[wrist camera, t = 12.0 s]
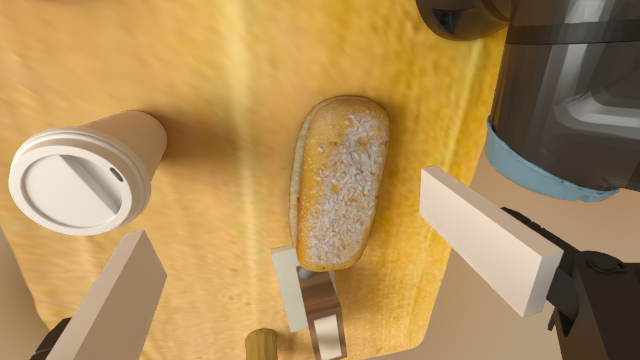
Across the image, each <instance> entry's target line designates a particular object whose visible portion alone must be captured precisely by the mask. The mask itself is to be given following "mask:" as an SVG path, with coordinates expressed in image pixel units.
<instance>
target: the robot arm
mask: <svg viewBox="0 0 640 360" xmlns="http://www.w3.org/2000/svg"><path fill="white" fill-rule="evenodd" d="M416 3H417V7H418V10H419V12H420V15H421V17H422V19H423V20H424V22H425V23H426V25H427V26H428V27H429V28H430V29H431V30H432V31H433V32H434V33H435V34H437V35H438V36H440V37H442V38H444V39H448V40H454V41H469V40H475V39H479V38H483V37H485V36H487V35H490V34H492V33H494V32H496V31H498V30H500V29H502V28H504V27H506V26H508V25H509V27H508V32H507V37H506V42H505V45H504V50H503V55H502V60H501V65H500V70H499V75H498V80H497V85H496V89H495V94H494V99H493V104H492V109H491V114H490V115H489V116H488V119H487V127H488V130H487V138H486V145H485V153H486V157H487V159H488V161H489V162H490V164H491V165H492V166H493V167H494V168H495V169H496V171H497V172H499V173H500V174H501V175H502V176H504V177H505V178H507V179H508V180H510V181H512V182H513V183H515V184H517V185H519V186H521V187H524V188H526V189H528V190H531V191H534V192H536V193H539V194H542V195H546V196H549V197H552V198H557V199H562V200H568V201H576V200H577V199H579V200H581V201H584V202H599V201H603V200H606V199H608V198H610V197H611V196H612V195H614V194H616V193H617V192H618V191H619V190H620V188H625V189H629V190H634V191H638V192H640V0H416ZM419 214H420V215H421V216H422V217H423V218H424V219H425V220H426V221H427V222H428V223H429V224H430V225H431V226H432V227H433V228H434V229H435V230H436V231H437V232H438V233H439V234H440V235H441V236H442V237H443V238H444V239H445V240H446V241H447V242H448V243H449V244H450V245H451V246H452V247H453V249H454V250H455V251H456V252H458V254H459V255H460V256H462V257H463V259H465V261H466V262H467V263H468V264H469V265H471V267H472V268H473V269H474V270H475V271H476V272H477V273H478V274H479V275H480V276H481V277H482V278H483V279H484V280H485V281H486V282H487V283H488V284H489V285H490V286H491V287H492V288H493V289H494V290H495V291H497V293H498V294H499V295H500V296H501V297H502V298H503V299H504V300H505V301H506V302H507V303H508V304H509V305H510V306H511V307H512V308H513V309H514V310H515V311H516V312H517V313H518V314H519V315H520V316H521V317H522V318H524V317H527V316H530V315H533V314H537V313H540V312H542V309H543V307H544V304H545V301H546V299H547V300H548V301H549V302H550V303H551V304H552V305H554V306H555V308H554V311H553V314H552V316H551V319H550V321H549V324H548V330H550V331H552V329H553V326H554V325H555V326H556V330H557V335H558V340H559V344H560V349H561V354H562V359H563V360H640V263H623V262H622V261H621V260H619V259H617V258H615V257H612V256H610V255H608V254H604V253H601V252H597V251H582V252H581V251H579V250H578V249H576V248H574V247H573V246H571V245H570V244H568V243H566V242H565V241H563V240H562V239H560V238H559V237H557V236H555V235H554V234H552V233H550V232H549V231H547V230H546V229H544V228H541V226H540V225H538V224H536V223H535V222H531V220H530V219H529V218H527V217H525V216H523V215H522V214H521V213H519V212H516V211H513V210H511V209H508V208H506V207H502V208H499V207H497V206H496V205H494V204H493V203H491V202H490V201H488V200H487V199H485V198H484V197H482V196H481V195H479V194H478V193H476V192H475V191H473V190H472V189H470V188H469V187H467V186H466V185H464V184H463V183H461V182H460V181H458V180H457V179H455V178H454V177H452V176H451V175H449V174H448V173H446V172H445V171H443V170H442V169H440V168H438V167H437V166H431V167H427V168H422V173H421V192H420V211H419ZM166 278H167V274H166V272H165V270H164V268H163V266H162V264H161V262H160V260H159V258H158V256H157V254H156V252H155V250H154V248H153V246H152V244H151V242H150V240H149V238H148V236H147V234H146V232H145V230H139V231H135V232H130V233H125V235H124V236H123V238H122V239H121V241H120V243H119V244H118V246H117V247H116V249H115V251H114V252H113V254H112V255H111V257H110V258H109V260H108V262H107V263H106V265H105V266H104V268H103V269H102V271H101V273H100V274H99V276H98V277H97V279H96V281H95V282H94V284H93V285H92V287H91V288H90V290H89V292H88V293H87V295H86V296H85V298H84V300H83V301H82V303H81V304H80V306H79V307H78V309H77V311H76V312H75V314H74V315H73V317H70V318H66V319H63V320H62V321H61V322H60V323H59V324H58V325H57V326H56V327H55V328H54V329H52V330H51V331H50V332H49V333H48V334H47V335H46V337H45V339H44V340H43V341H42V343H41V344H40V346H39V347H38V349H37V350H36V351H35V352H36V354H35V355H33V356H32V357H31V359H30V360H139V358H140V355H141V352H142V349H143V346H144V343H145V340H146V337H147V334H148V331H149V328H150V325H151V322H152V319H153V316H154V314H155V311H156V308H157V305H158V302H159V299H160V296H161V293H162V290H163V287H164V284H165V281H166Z"/></svg>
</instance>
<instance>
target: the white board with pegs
mask: <svg viewBox="0 0 640 360" xmlns="http://www.w3.org/2000/svg"><path fill="white" fill-rule="evenodd" d="M270 252H271V257H272V261H273V265H274V269H275V273H276V276H277V280H278V284H279V288H280V292H281V296H282V300H283V303H284V307H285V311H286V315H287V319H288V323H289V326H290V330H291V333H292V332H295V331H299V330H302V329H305V328H309V327H308V322H307V317H306V313H305V308H304V303H303V299H302V294H301V289H300V285H299V280H298V275H297V271H296V267H297V266H300V267H301V268H300V270H299V275H300V277H301V278H302V279H310V278H312V277H313V276H314V274H315V271H309V270H306V269H305V268H303V267H302V266H301V265H300V263H299V261H298V259H297V254H296V250H295V248H294V246H293V244H292V245H288V246H284V247H279V248H275V249H271V250H270ZM328 272H329V275H330V278H331V281H332V283H333V286H334V289H335V292H336V295H337V288H336V280H335V273H334V270H331V271H328ZM337 298H338V296H337Z"/></svg>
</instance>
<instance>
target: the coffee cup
mask: <svg viewBox="0 0 640 360" xmlns="http://www.w3.org/2000/svg"><path fill="white" fill-rule="evenodd" d="M166 147H167V134H166V131H165V129H164V127H163V126H162V125H161V123H160V122H159V121H158V120H157V119H155V118H154V117H152V116H151V115H149V114H147V113H144V112H141V111H124V112H121V113H118V114H115V115H112V116H109V117H106V118H103V119H99V120H96V121H93V122H90V123H87V124H84V125H81V126H78V127H75V126H63V127H55V128H50V129H47V130H44V131H41V132H39V133H37V134H35V135H33V136H32V137H30V138H29V139H28V140H26V141H25V142H24V143H23V145H22V146H21V147H20V148H19V149H18V151H17V152H16V154H15V156H14V159H13V161H12V164H11V170H10V174H9V189H10V193H11V195H12V198H13V199H14V201H15V203H16V204H17V206H18V207H19V208H20V209H21V210H22V212H23V213H25V214H26V215H27V216H28V217H29V218H30V219H32V220H33V221H35V222H36V223H38V224H40V225H42V226H44V227H46V228H48V229H50V230H53V231H56V232H60V233H64V234H69V235H78V236H87V235H96V234H100V233H104V232H107V231H110V230H114V229H117V228H119V227H122V226H124V225H126V224H128V223H129V222H131V221H132V220H134V219H135V218H136V217H138V216H139V215H140V214H141V213H142V212H143V210H144V209H145V208H146V206H147V204H148V202H149V199H150V195H151V181H152V178H153V176H154V174H155V172H156V169H157V167H158V165H159V163H160V160H161V158H162V156H163V154H164V151H165V149H166Z"/></svg>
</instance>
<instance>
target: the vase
mask: <svg viewBox="0 0 640 360" xmlns="http://www.w3.org/2000/svg"><path fill="white" fill-rule="evenodd" d="M276 341H277V335H276V334H275V332H273V331H272V330H269V329H260V330H256V331H254V332H252V333H250V334H249V335H248V336H247V338H246V340H245V347H246V360H278V356H277V346H276Z"/></svg>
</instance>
